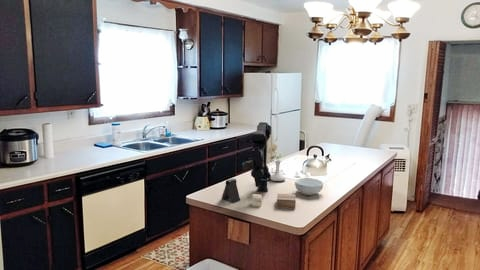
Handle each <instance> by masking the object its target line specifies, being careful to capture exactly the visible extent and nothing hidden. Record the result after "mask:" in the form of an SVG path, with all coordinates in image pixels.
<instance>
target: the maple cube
mask: <svg viewBox="0 0 480 270" xmlns="http://www.w3.org/2000/svg"><path fill="white" fill-rule="evenodd" d="M262 196H263V195H262V194H255V193H253V194H252V195H251V206H252V207H262V199H263V198H262Z"/></svg>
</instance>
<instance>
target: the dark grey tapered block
mask: <svg viewBox="0 0 480 270" xmlns="http://www.w3.org/2000/svg"><path fill="white" fill-rule="evenodd" d="M222 199H223V201H225V200H226V201H225V202H228V201H229V202H228V203H231V202H233V203H234V204H235V203H236V202H239V200H240V201H241V197H240V194H239V189H238V185H237V178H229V179H226V181H225V186H224V189H223V194H222V195H221V200H222ZM233 203H232V204H233Z"/></svg>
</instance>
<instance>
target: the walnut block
mask: <svg viewBox="0 0 480 270" xmlns="http://www.w3.org/2000/svg"><path fill="white" fill-rule="evenodd" d="M276 195H277V196H276V208H277V209H279V208H280V209H291V210H294V209H295V210H296V206H297V205H296V201H297V199H296V194H294V193H293V194H292V193H290V194H289V193H279V192H277V194H276Z"/></svg>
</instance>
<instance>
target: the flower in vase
mask: <svg viewBox="0 0 480 270" xmlns="http://www.w3.org/2000/svg"><path fill="white" fill-rule="evenodd" d="M277 149H278V145H277V144H275V143H274V144H272V145H270V146H268V148H267V154H273V153H274V154H276V153H275V152H276V151H277ZM281 157H282V155H281V154H279V155H277V156H276V155H273V156H270V158H269V159H271V160H274V161H273V162H274V164H275V171H274V172H273V173H270V174H271V181H274V182H283V181H285V180H286V175H284V174H283V173H282V172H281V171H280V166H281V165H280V164H281V163H282V159H280V158H281Z"/></svg>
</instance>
